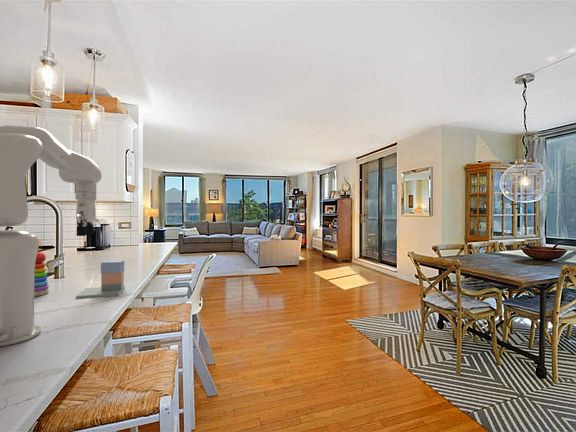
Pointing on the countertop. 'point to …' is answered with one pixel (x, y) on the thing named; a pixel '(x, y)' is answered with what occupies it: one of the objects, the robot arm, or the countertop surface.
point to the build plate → (102, 291)
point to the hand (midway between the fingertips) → (85, 235)
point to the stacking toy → (40, 276)
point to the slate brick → (112, 266)
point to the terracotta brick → (112, 278)
